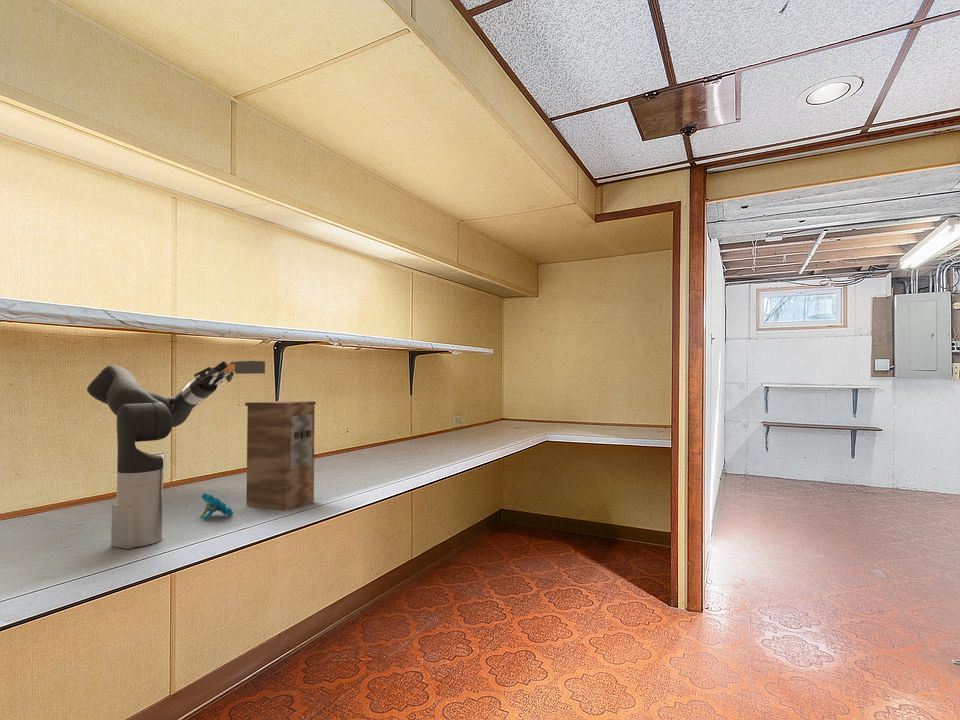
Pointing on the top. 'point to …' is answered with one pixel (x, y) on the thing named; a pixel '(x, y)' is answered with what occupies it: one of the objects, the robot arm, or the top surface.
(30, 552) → the top surface
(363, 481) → the top surface
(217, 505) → the teal plastic lumpy figure
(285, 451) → the stand
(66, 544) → the top surface
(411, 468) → the top surface
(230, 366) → the block
